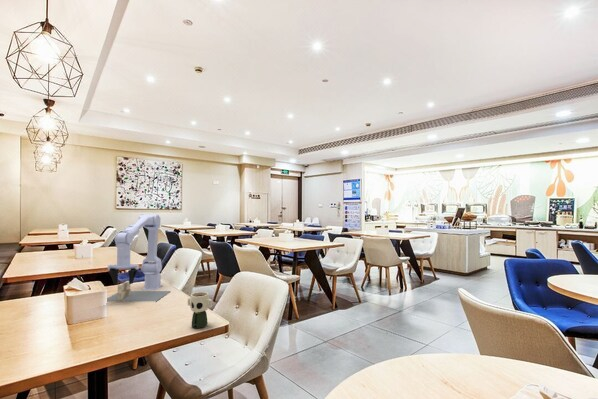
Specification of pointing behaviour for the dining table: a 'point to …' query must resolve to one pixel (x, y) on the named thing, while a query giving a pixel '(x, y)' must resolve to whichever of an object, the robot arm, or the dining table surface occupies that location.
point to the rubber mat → (139, 296)
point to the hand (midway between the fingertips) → (123, 283)
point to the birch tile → (123, 290)
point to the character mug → (199, 308)
